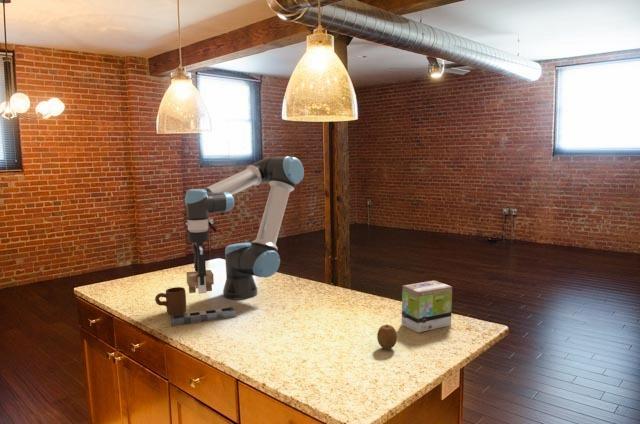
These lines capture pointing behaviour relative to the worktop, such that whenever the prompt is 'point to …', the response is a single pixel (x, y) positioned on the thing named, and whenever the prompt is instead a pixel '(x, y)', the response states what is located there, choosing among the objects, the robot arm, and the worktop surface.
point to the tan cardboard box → (193, 280)
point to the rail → (202, 316)
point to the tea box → (426, 305)
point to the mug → (173, 300)
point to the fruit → (387, 336)
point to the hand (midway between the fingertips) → (200, 290)
